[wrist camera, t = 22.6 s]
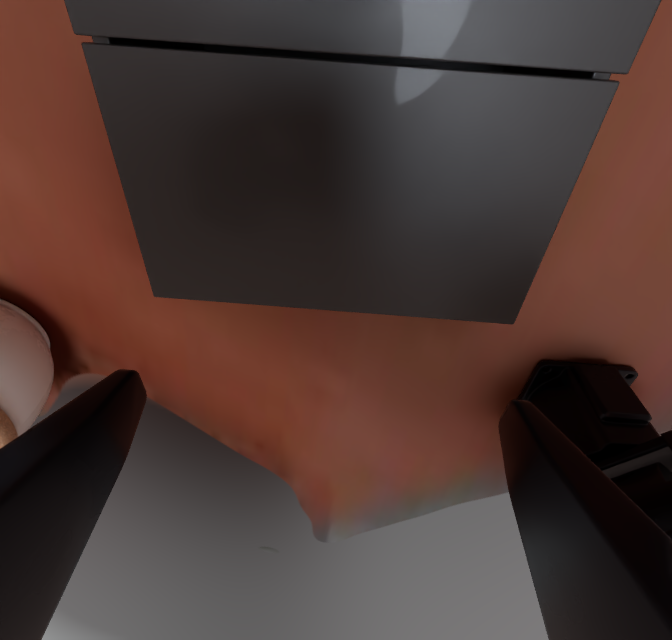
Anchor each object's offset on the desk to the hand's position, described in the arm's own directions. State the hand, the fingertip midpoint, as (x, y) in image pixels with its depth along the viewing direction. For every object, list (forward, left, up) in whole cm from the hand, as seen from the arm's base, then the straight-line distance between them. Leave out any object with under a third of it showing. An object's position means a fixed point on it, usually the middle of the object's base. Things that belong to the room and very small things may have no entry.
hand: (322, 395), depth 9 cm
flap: (+3, 0, -5) cm, 6 cm away
